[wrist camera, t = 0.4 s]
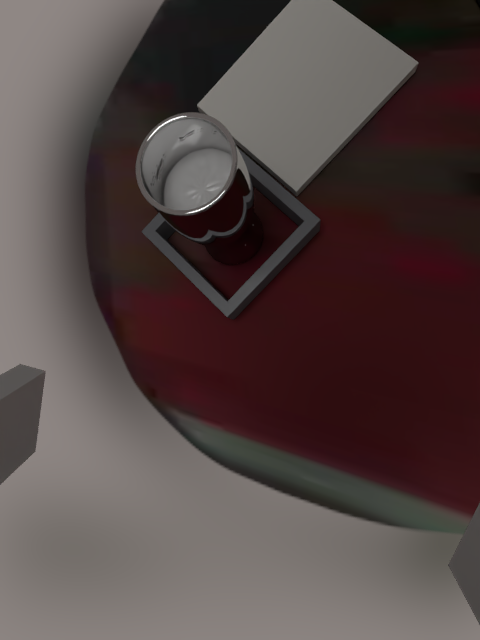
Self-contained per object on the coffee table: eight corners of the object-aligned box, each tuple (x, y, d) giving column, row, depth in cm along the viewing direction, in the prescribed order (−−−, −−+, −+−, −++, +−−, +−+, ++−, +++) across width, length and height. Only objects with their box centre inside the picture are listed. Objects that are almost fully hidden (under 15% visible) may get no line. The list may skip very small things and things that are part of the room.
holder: (233, 154, 38) (226, 138, 35) (319, 230, 36) (320, 219, 33) (154, 240, 39) (141, 231, 36) (233, 319, 37) (227, 317, 34)
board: (307, -7, 38) (307, -18, 37) (415, 72, 35) (418, 62, 34) (200, 112, 39) (196, 105, 38) (296, 196, 37) (296, 191, 35)
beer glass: (198, 269, 38) (128, 219, 23) (201, 203, 38) (135, 112, 24) (266, 269, 37) (238, 216, 22) (269, 200, 37) (242, 103, 22)
